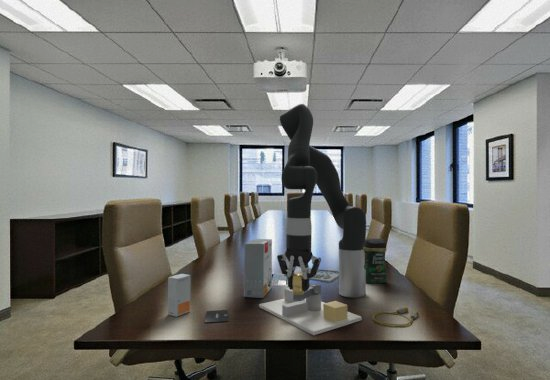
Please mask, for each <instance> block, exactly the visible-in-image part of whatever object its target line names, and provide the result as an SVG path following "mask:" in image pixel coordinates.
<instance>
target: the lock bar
mask: <svg viewBox="0 0 550 380" xmlns="http://www.w3.org/2000/svg"><path fill="white" fill-rule="evenodd" d="M303 279H304V278H303V274H301V273H295V274H292V293H293V300H296V301H302V300H304V299H305V298H307V297H309V296H311V295H312V294H318V293H321V294H322V285H321V284H320V283H314V282H313V283H312V282H311V283H310V282H309V289H308V290H307V291H306V292H304V291H303Z"/></svg>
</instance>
